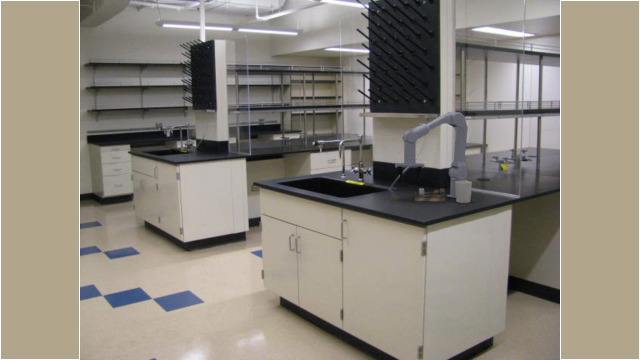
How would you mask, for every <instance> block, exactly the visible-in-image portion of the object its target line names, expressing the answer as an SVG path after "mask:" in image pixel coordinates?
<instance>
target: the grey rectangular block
mask: <svg viewBox="0 0 640 360" xmlns="http://www.w3.org/2000/svg"><path fill="white" fill-rule="evenodd" d="M418 188H419V187H418ZM418 192H419V195H424V192H425V188H423V187H422V188H421V187H420V188H419V189H418Z"/></svg>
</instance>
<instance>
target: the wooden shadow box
mask: <svg viewBox="0 0 640 360" xmlns="http://www.w3.org/2000/svg"><path fill="white" fill-rule="evenodd" d="M414 202H446V190H445V188H441V187H440V188H439V189H435V190H433V191H424V195H419V191H414Z"/></svg>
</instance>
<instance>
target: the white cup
mask: <svg viewBox="0 0 640 360" xmlns="http://www.w3.org/2000/svg"><path fill="white" fill-rule="evenodd" d="M472 184H473V182H472V181H469V180H468V181H456V182H455V187H456V198H455V202H457V203H460V204H468V203H471V198H472V188H473V187H472V186H473V185H472Z"/></svg>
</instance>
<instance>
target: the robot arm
mask: <svg viewBox="0 0 640 360" xmlns="http://www.w3.org/2000/svg"><path fill="white" fill-rule="evenodd" d="M443 124H447V125H449V126H451V127H452V128H453V129H454V130H455V132H456V134H455V142H454V143H455V145H454V152H453V153H454V154H453V161H452V162H451V163H450V167H449V168H448V176H449V177H450V192H449V193H450V194H447V195H446V197H449V198H454V199H456V187H455V182H456V181H469V179H468V180H467V177H468V171H467V170H468V169H467V165H466V163H465V161H466V160H465V159H466V149H467V148H466V147H467V139H468V128H469V127H468V125H467V122H466V117H465V115H463V113H461V112H459V111H458V112H453V111H449V112H446V113H443V114H442V115H440V116H438V117H437V118H435V119H433V120H431V121H430V122H428V123H427V124H426V123H419V124H418V126H416V127H414V128H410V130H407V131H405V132H404V133H403V135H402V140H403V155H404V156H403V162H396V163H394V164H395V165H394V167H395V168H397V169H396V170H397V172H398V174H399V177H400V182H402V183H403V181H404V168H416V180H415V181H416V183H419V179H420V174H421V172H422V171H423V169H424V168H425V163H419V162H418V163H416V157H417V155H416V154H417V151H416V148H417V147H416V142H417V141H418V140H419V139H421V138H423V137H424V136H427V135H428V134H429V133H430V131H431V130H433V129H435V128H437V127H440V126H442V125H443Z"/></svg>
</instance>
